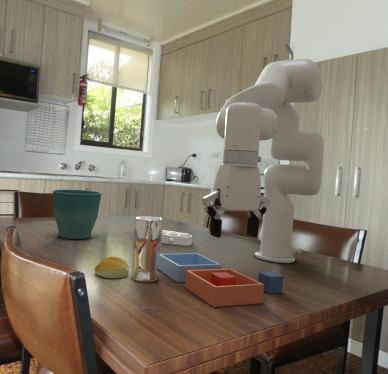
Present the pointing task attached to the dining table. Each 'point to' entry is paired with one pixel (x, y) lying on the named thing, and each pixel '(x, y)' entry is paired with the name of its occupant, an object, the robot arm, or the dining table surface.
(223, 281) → the red block
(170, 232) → the white brass knuckles
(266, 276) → the blue block
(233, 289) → the terracotta bin
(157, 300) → the dining table surface
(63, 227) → the flower pot
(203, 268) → the blue bin
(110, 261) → the bread roll
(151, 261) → the beer glass
